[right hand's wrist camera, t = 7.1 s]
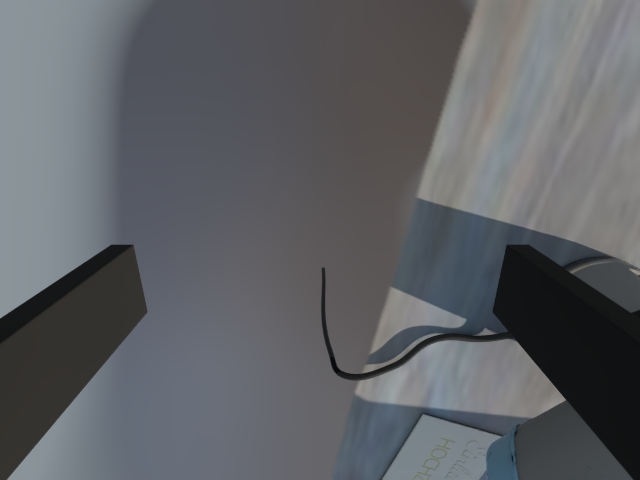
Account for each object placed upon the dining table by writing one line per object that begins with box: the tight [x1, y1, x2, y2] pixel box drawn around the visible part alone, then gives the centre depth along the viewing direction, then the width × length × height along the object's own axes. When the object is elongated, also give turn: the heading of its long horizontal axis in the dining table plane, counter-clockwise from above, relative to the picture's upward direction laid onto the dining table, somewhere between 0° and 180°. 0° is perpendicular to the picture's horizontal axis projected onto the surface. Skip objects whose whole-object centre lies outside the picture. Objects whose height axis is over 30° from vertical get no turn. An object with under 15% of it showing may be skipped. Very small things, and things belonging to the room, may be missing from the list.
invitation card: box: [382, 414, 502, 480], centre depth 56 cm, size 21×1×15 cm
